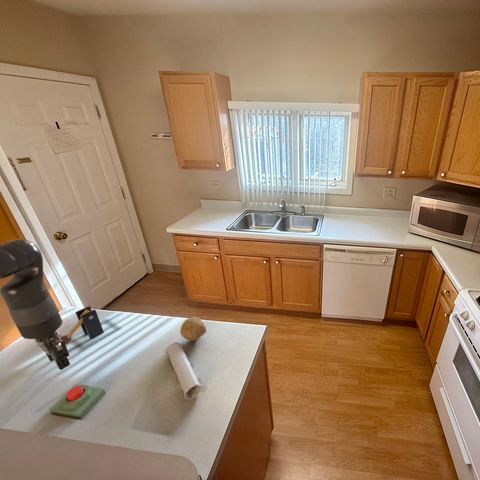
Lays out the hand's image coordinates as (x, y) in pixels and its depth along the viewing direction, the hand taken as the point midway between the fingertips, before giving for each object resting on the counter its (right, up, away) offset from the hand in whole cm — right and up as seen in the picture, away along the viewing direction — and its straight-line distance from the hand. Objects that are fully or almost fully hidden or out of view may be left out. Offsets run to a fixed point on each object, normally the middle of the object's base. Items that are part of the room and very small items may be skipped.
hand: (60, 362), depth 72 cm
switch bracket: (-18, -4, +31) cm, 36 cm away
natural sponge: (+22, -6, +33) cm, 40 cm away
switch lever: (-19, +1, +26) cm, 32 cm away
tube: (+25, -13, +19) cm, 34 cm away
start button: (-1, -13, +5) cm, 14 cm away
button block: (-1, -16, +7) cm, 17 cm away
